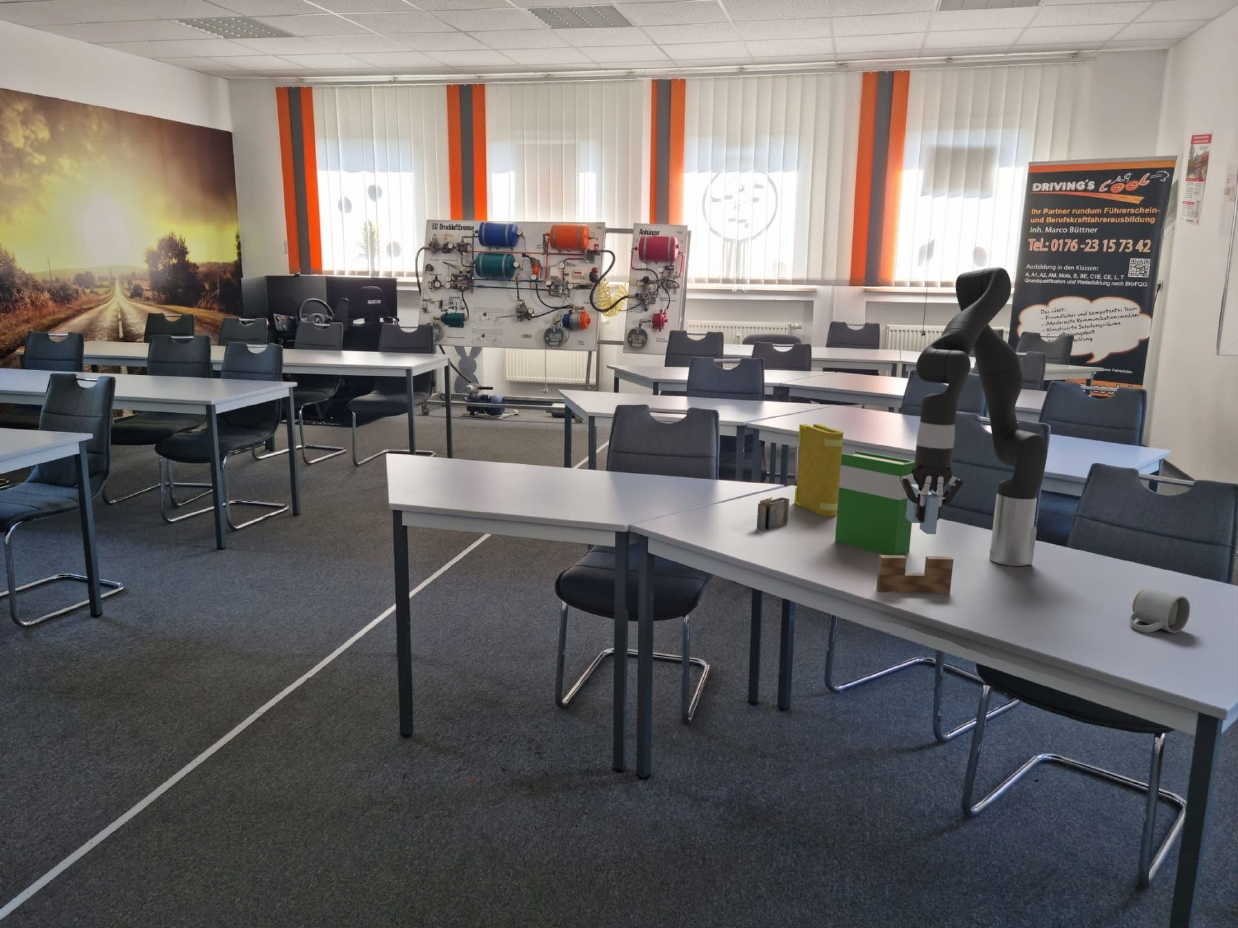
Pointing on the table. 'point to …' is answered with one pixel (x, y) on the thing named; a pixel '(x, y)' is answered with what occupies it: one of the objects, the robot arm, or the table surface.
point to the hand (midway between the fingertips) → (926, 521)
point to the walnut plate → (914, 575)
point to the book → (819, 469)
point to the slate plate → (930, 512)
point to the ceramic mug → (1160, 611)
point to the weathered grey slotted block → (772, 513)
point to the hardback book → (873, 503)
